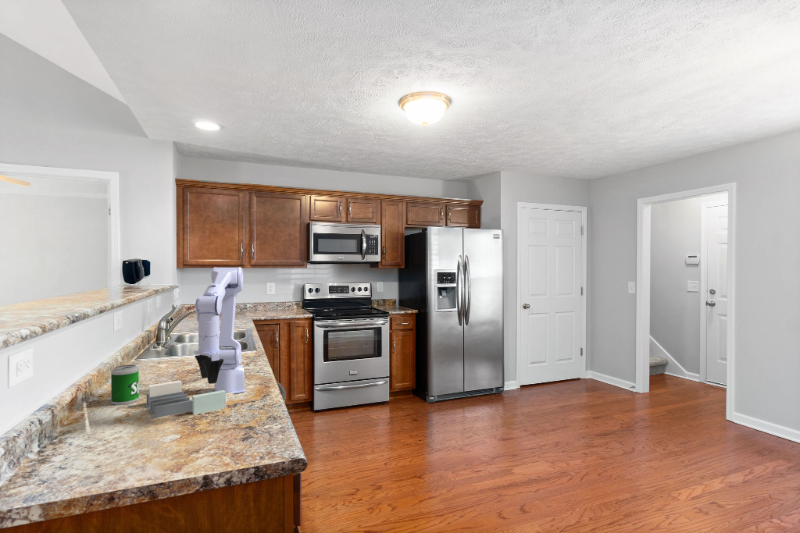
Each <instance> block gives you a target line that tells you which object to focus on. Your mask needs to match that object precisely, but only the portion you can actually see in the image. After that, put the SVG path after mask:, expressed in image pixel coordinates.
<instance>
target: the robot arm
mask: <svg viewBox="0 0 800 533" xmlns="http://www.w3.org/2000/svg"><path fill="white" fill-rule="evenodd" d="M210 273H211V274H210V277H211V282H212V283H211V284H209V285H208V286H207V287H206V289H205V291H204V293H203V294H202V295H201V296H199V297H197V298H196V299H195V305H194V308H195V310H194V311H195V315H196V321H197V323H198V324H197V325H198V327H197V328H198V333H197V334H198V342H197V343H198V350H195V351H194V352H193V354H194V358H195V360H196V362H197V365H198V367H199V371H200V376H201V378H202V379H206V380H207V383H208V384H209V385H211V384H214V392H216V391H221V390H224V391H226V394H231V393H232V394H233V395H235V394H239V393H240V394H241V393H245V392H246V390H245V369H244V366H243V365H242V364H241V363H242V358H243V357H242V356H243V355H242V345H241V343H240V342H239V341H238V340H236V339H234V336H235V334H234V333H235V324H236V323H235V322H236V321H235V320H236V318H235V317H236V307H237V306H236V304H237V297H238V294H239V293H240V292H242V291H243V287H244V286H243V285H244V270H243V268H242V267H241V266H239V267H216V266H214V267H213V268H212V269H211V272H210Z"/></svg>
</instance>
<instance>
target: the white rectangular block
mask: <svg viewBox="0 0 800 533" xmlns="http://www.w3.org/2000/svg"><path fill="white" fill-rule="evenodd" d="M182 385H183V382H182V381H181V380H175V381H169V382H163V383H155V384H149V385H148V394H149V397H153V396H159V395H164V394H170V393H176V392H182V391H183V390H182V388H183V386H182Z"/></svg>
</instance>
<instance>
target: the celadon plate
mask: <svg viewBox="0 0 800 533" xmlns="http://www.w3.org/2000/svg"><path fill="white" fill-rule="evenodd" d="M226 394H227V393H226V391H224V390H221V391H216V392H215V391H210V392H205V393H200V394H199V393H198V394H194V395H192V399H191V400H192V411H191V412H192V415H194V416H195V415H199V414H205V413H208V412H212V413H211V414H214V411H218V410H223V409H226V406H227V402H226V399H227V395H226ZM217 413H219V412H216V414H217Z"/></svg>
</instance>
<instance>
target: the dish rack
mask: <svg viewBox="0 0 800 533" xmlns="http://www.w3.org/2000/svg"><path fill="white" fill-rule="evenodd" d="M190 398H191V397H190V396H188V394H187V393H185V391H184V390H182V392H176V393H170V394H164V395H159V396H153V397H149V393H146V403H145V404H144V405H145V408H146V409H147V411H148V413H149V414H150V416H151V418H152V419H158V418H163V417H168V416H173V415H178V414H183V413H187V412H188V413H189V412H192V399H190Z"/></svg>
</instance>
